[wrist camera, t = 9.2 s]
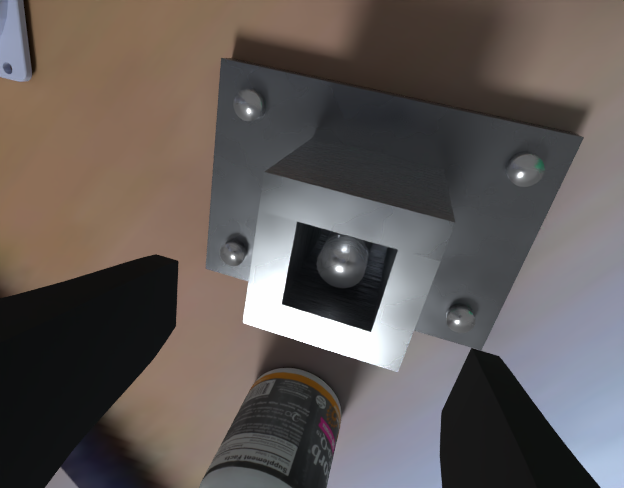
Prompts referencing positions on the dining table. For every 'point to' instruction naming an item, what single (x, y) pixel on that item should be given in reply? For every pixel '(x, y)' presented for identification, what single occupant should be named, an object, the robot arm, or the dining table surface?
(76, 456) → the dining table surface
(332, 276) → the dark grey mounting plate
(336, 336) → the grey square socket
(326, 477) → the pill bottle
